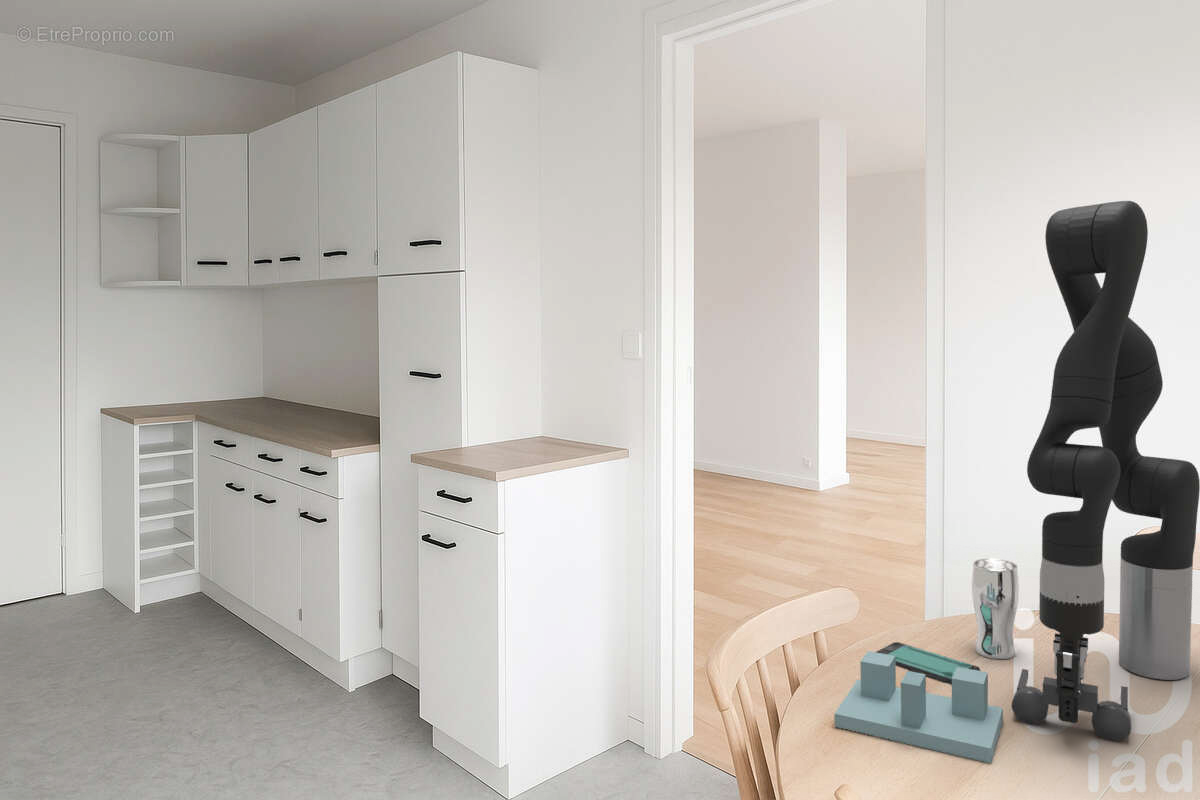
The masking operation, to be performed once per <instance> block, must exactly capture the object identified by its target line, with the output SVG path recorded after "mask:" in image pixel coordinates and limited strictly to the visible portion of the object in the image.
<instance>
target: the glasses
mask: <svg viewBox="0 0 1200 800" xmlns="http://www.w3.org/2000/svg"><path fill="white" fill-rule="evenodd" d="M1028 680H1029V669H1024V668H1022V669H1021V672H1020V676H1019V679H1018V683H1017V685H1016V686H1017V687H1016V691H1015V692H1014V694H1013V699H1012V700H1011V701H1012V702H1011V710H1012V713H1013V715H1014V716H1015V717H1016V718H1017V719H1018V720H1019V721H1021V722H1023V723H1025V724H1027V725H1034V726H1036V725H1039V724H1042V723H1043V722H1044V721H1046V720H1047V719H1046V718H1047V717H1048V712H1049V708H1050V706H1055V707H1059V695H1057V692H1056V691H1055V689H1056V687H1057V678H1053V677H1049V676H1048V677H1047V676H1044V677H1043V681H1042V690H1040V689H1039V688H1037V687H1034V686H1027V684H1028ZM1062 685H1066V686H1072V687H1074V682H1072V681H1066V680H1063V679H1062ZM1079 691H1080V696H1079V697H1078V711H1082V712H1088V713H1092V714H1091V715H1092V716H1091V726H1092V728H1093V730H1094V732H1095V733H1096V734H1097V735H1098V736H1100V737H1101V738H1102V739H1104V740H1106V741H1110V742H1122V741H1124V740H1126V739H1127V738H1128V737H1129V736H1130V734H1131V732H1132V718H1131V714H1130V712H1129V711H1128V709H1129V708H1128V705H1129V698H1128V697H1129V695H1128V694H1129V692H1128V691H1129V687H1128V686H1123V685H1121V686H1120V703H1118V702H1117V701H1111V700H1105V701H1099V685H1095V684H1094V685H1093V684H1087V683H1082V682H1081V683H1079Z"/></svg>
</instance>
